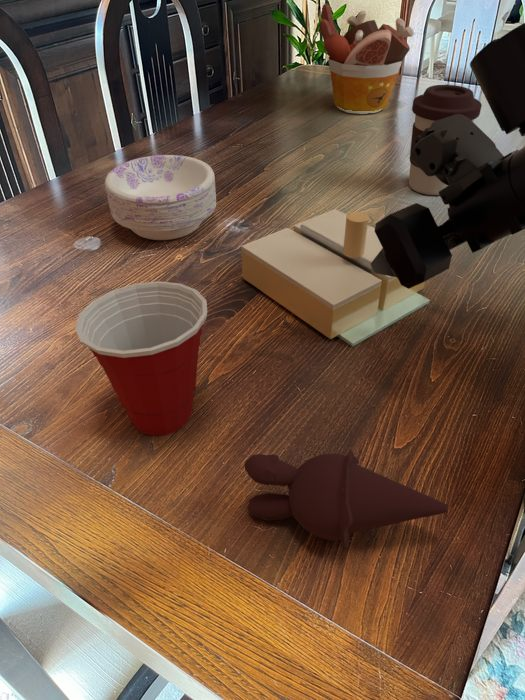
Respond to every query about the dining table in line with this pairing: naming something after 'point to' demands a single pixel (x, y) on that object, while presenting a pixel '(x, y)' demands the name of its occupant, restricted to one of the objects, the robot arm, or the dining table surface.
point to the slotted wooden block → (328, 281)
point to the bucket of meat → (363, 60)
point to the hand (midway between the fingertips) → (404, 253)
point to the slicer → (346, 240)
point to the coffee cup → (432, 108)
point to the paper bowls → (161, 195)
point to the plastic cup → (148, 349)
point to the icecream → (335, 496)
